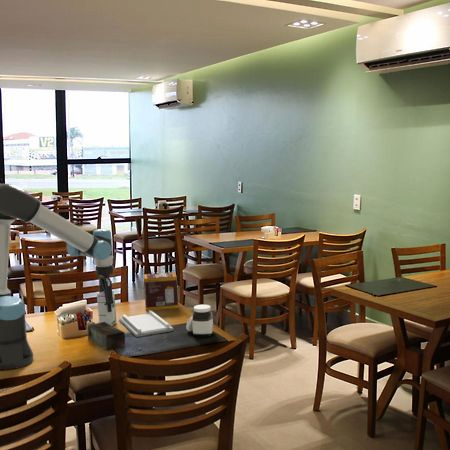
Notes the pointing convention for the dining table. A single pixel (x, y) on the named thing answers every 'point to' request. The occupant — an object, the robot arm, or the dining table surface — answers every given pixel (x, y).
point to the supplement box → (160, 291)
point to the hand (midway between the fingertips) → (107, 316)
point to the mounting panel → (145, 324)
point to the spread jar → (201, 321)
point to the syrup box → (102, 309)
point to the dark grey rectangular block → (106, 335)
